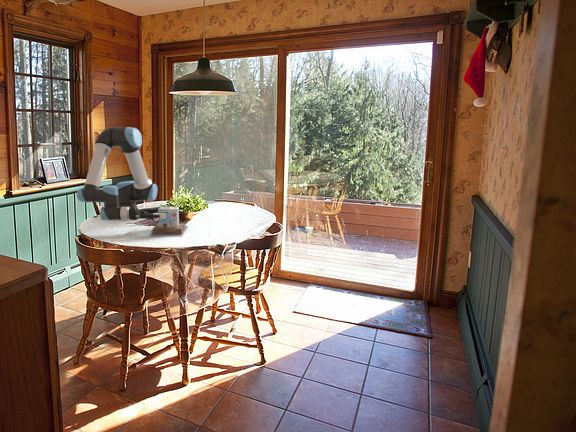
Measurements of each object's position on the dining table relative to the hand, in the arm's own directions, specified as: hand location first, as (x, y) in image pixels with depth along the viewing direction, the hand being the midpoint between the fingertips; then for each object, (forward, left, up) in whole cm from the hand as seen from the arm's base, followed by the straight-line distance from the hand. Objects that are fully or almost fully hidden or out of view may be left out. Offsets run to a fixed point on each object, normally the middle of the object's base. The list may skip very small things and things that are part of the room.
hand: (168, 213), depth 233 cm
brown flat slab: (0, 0, -11) cm, 12 cm away
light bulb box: (0, 0, -8) cm, 8 cm away
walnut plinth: (0, 0, -10) cm, 11 cm away
